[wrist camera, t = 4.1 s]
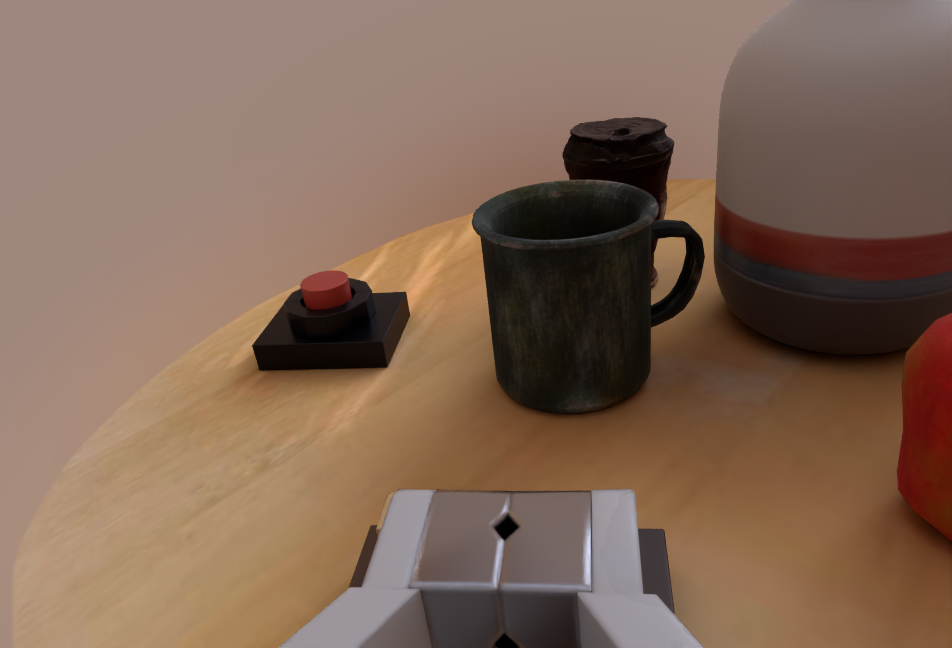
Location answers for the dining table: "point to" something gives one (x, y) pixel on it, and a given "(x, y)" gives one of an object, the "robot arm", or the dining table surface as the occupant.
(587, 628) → the robot arm
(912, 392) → the apple
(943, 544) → the dining table surface
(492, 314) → the mug
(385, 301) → the button box
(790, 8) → the vase
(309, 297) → the red button
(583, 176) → the coffee cup
